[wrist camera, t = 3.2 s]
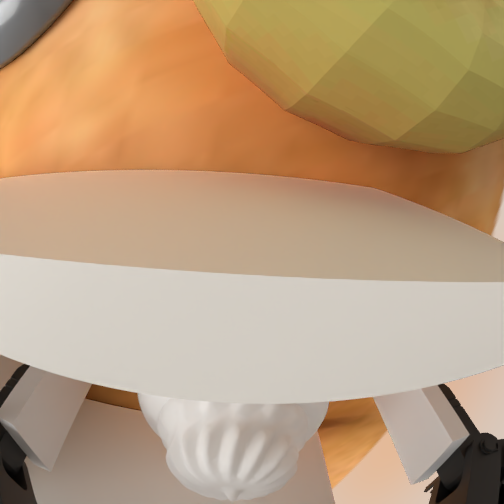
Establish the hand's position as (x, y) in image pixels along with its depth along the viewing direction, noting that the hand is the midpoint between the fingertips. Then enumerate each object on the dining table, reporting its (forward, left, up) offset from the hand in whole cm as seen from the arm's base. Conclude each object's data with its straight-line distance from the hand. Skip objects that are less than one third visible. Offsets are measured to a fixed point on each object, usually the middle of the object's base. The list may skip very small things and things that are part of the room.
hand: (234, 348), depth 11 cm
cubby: (0, -4, 0) cm, 4 cm away
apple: (-13, +3, -1) cm, 13 cm away
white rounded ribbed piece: (0, 0, -1) cm, 1 cm away
